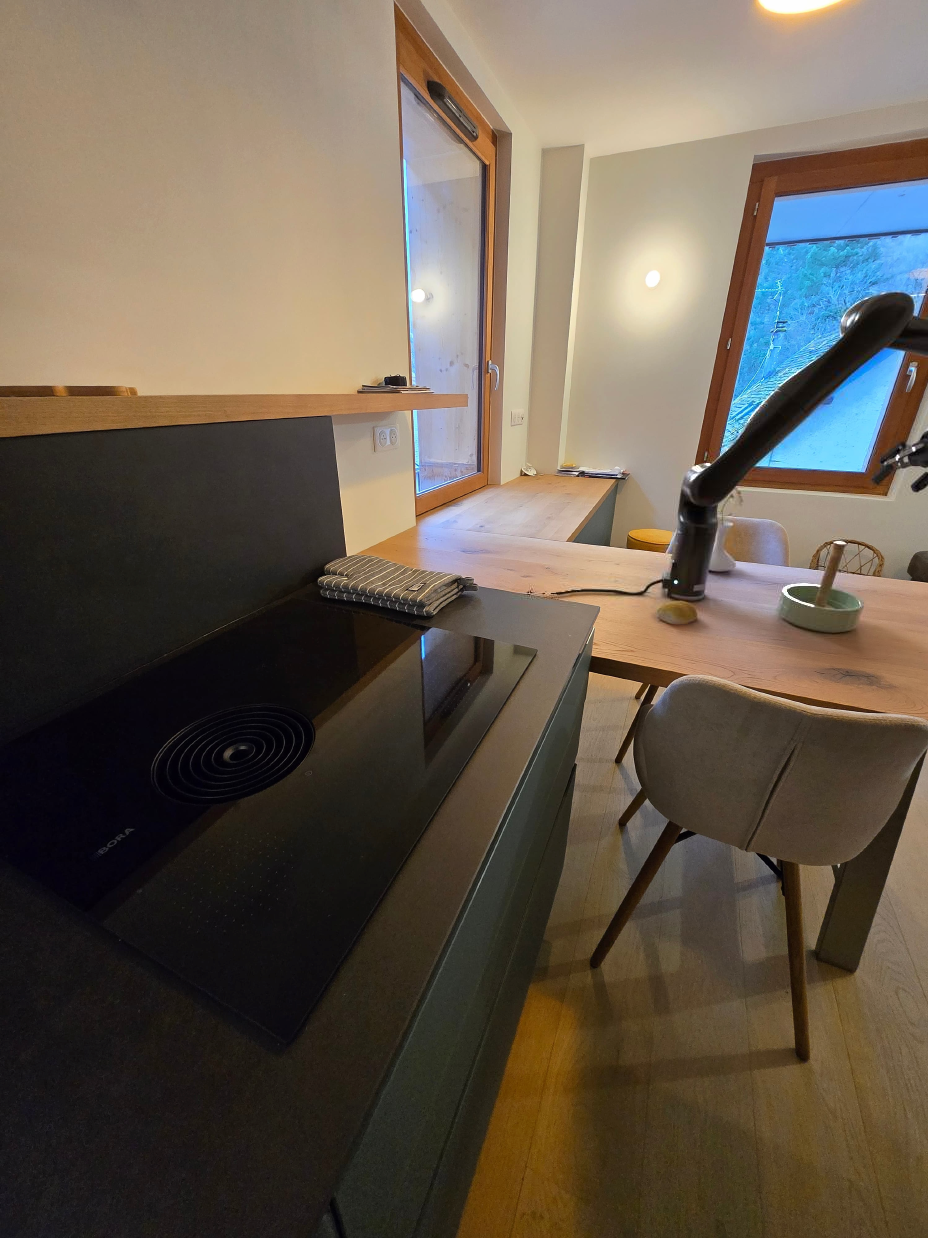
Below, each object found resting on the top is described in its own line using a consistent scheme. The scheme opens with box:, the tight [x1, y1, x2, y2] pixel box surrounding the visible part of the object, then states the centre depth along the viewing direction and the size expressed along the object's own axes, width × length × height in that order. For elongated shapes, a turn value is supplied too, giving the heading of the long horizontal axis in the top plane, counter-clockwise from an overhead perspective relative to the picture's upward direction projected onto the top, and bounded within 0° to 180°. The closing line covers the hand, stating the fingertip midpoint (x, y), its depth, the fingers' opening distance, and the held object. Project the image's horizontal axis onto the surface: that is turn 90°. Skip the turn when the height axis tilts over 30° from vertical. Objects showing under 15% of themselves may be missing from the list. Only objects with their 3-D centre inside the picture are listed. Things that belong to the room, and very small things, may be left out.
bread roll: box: [655, 600, 698, 625], centre depth 117 cm, size 8×9×4 cm
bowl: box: [776, 583, 865, 634], centre depth 115 cm, size 16×16×6 cm
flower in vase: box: [709, 486, 744, 572], centre depth 144 cm, size 13×11×25 cm
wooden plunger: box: [807, 540, 847, 609], centre depth 112 cm, size 6×6×18 cm
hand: (893, 485), depth 104 cm, fingers open, 8 cm apart
